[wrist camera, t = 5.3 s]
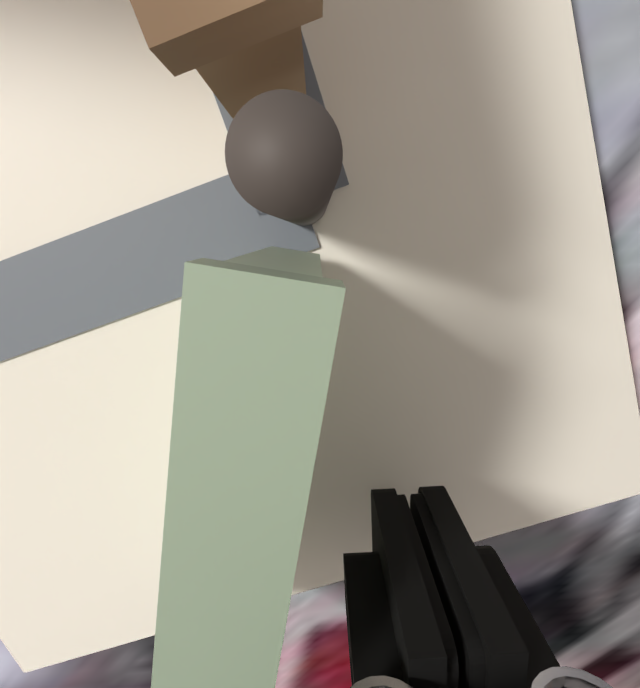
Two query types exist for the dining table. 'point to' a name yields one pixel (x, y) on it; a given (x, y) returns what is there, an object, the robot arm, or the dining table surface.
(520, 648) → the robot arm
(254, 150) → the fence fixed
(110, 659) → the dining table surface
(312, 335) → the fence panel
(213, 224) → the card
